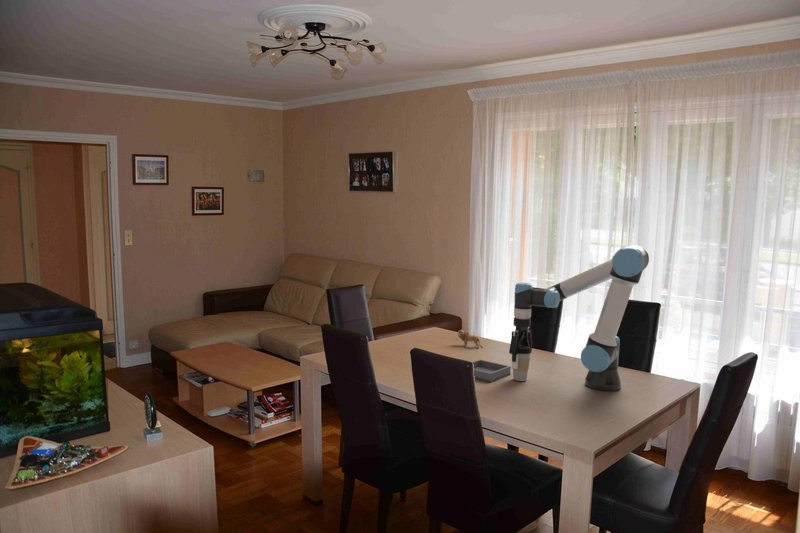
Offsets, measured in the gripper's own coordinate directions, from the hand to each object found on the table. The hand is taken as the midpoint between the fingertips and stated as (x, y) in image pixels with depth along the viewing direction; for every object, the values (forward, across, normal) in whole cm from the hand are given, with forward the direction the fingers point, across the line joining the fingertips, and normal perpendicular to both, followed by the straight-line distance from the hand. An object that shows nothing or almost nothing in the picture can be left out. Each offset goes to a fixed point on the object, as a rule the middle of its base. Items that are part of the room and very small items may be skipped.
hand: (520, 366), depth 273 cm
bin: (+6, +5, -16) cm, 18 cm away
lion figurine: (+6, -34, -51) cm, 61 cm away
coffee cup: (+6, 0, 0) cm, 6 cm away
